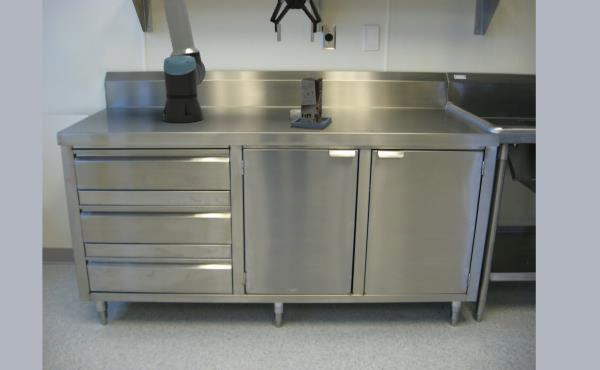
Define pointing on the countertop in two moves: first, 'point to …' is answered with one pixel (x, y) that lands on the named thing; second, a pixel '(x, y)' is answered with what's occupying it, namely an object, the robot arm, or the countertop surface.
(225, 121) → the countertop surface
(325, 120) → the tray
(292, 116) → the white small block
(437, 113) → the countertop surface
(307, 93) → the coffee box
